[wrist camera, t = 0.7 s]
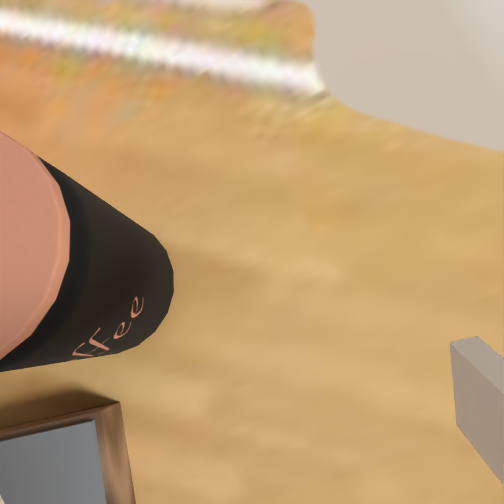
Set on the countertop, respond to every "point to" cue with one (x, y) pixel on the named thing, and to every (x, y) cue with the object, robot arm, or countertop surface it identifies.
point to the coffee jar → (71, 268)
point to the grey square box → (67, 460)
